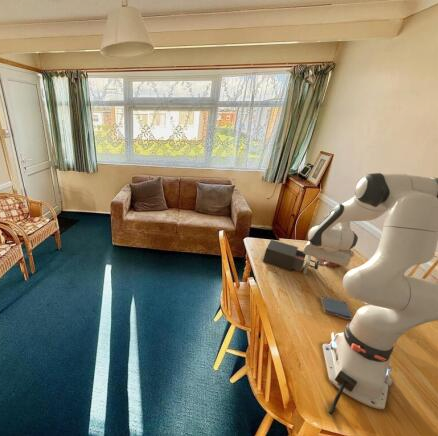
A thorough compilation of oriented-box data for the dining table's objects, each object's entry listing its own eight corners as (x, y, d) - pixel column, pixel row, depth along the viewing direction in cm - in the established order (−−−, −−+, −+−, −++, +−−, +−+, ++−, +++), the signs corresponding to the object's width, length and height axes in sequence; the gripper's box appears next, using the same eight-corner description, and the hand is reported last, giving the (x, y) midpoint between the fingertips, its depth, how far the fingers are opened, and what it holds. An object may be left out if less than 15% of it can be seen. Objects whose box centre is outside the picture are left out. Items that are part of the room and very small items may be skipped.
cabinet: (293, 260, 139) (298, 247, 135) (290, 271, 130) (294, 257, 126) (267, 252, 147) (271, 239, 143) (262, 261, 138) (266, 248, 134)
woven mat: (345, 304, 108) (346, 301, 107) (352, 321, 99) (354, 318, 98) (318, 297, 111) (320, 294, 111) (323, 313, 103) (325, 310, 102)
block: (301, 267, 129) (303, 261, 127) (292, 264, 132) (294, 258, 130) (302, 263, 133) (304, 257, 131) (293, 260, 135) (295, 254, 133)
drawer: (316, 266, 132) (320, 255, 128) (314, 277, 124) (319, 265, 120) (282, 256, 142) (285, 245, 138) (278, 265, 133) (282, 254, 130)
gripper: (355, 248, 115) (345, 269, 121) (307, 235, 127) (300, 256, 133) (355, 253, 111) (345, 276, 117) (306, 240, 122) (299, 261, 128)
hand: (321, 265), depth 125 cm, fingers closed
